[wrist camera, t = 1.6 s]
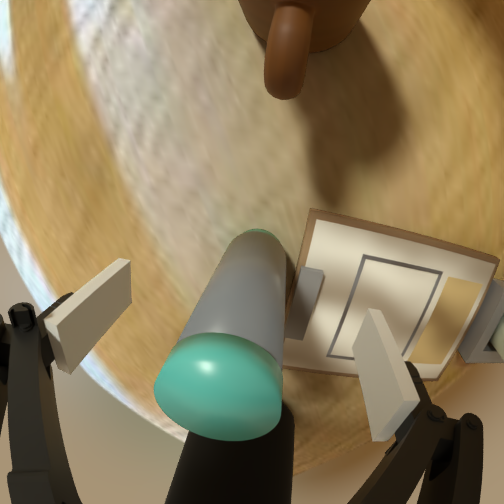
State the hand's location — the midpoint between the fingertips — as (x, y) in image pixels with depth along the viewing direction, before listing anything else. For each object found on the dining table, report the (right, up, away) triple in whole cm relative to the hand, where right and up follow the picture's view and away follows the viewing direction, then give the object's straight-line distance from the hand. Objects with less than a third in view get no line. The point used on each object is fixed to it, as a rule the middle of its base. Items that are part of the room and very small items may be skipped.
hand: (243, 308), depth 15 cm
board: (+12, -2, +7) cm, 14 cm away
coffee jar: (0, -15, +14) cm, 20 cm away
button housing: (+26, -4, +6) cm, 27 cm away
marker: (+1, +3, +6) cm, 7 cm away
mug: (+3, +18, +1) cm, 18 cm away
